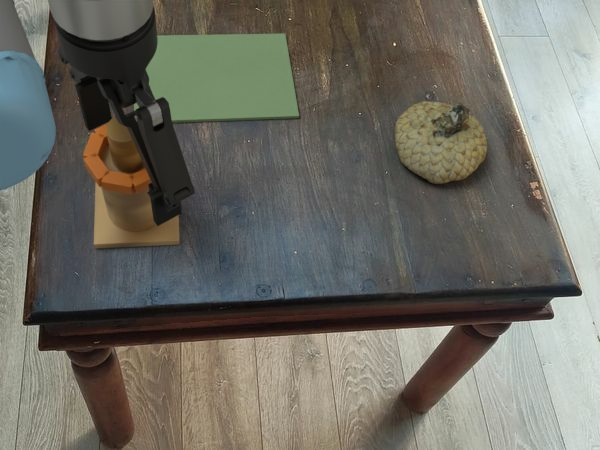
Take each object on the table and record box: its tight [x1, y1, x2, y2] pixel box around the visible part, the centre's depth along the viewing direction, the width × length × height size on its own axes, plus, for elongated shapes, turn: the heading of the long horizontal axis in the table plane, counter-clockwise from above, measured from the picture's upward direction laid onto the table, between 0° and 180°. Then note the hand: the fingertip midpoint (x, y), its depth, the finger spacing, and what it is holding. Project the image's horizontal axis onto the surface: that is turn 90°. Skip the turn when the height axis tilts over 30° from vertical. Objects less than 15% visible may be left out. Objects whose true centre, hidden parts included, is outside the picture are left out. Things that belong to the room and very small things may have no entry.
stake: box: [93, 116, 181, 249], centre depth 72 cm, size 9×9×15 cm
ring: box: [82, 123, 152, 195], centre depth 69 cm, size 8×8×1 cm
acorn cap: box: [394, 100, 488, 185], centre depth 86 cm, size 10×11×10 cm
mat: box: [133, 33, 300, 124], centre depth 89 cm, size 20×14×1 cm
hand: (132, 168), depth 71 cm, fingers open, 13 cm apart
